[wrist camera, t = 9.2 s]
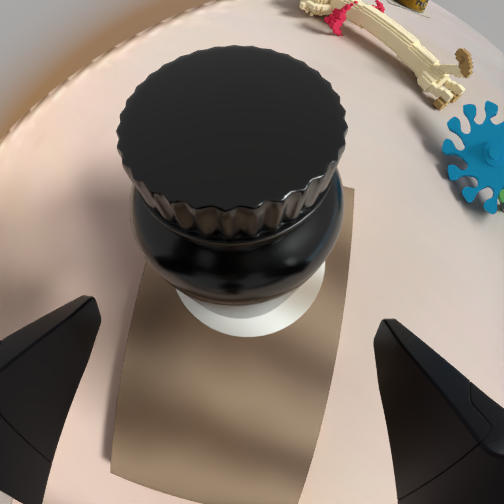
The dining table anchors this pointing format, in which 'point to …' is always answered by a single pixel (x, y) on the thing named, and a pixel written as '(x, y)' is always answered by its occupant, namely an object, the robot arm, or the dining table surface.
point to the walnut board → (229, 389)
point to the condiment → (412, 5)
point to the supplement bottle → (234, 175)
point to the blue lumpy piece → (479, 155)
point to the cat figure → (397, 45)
